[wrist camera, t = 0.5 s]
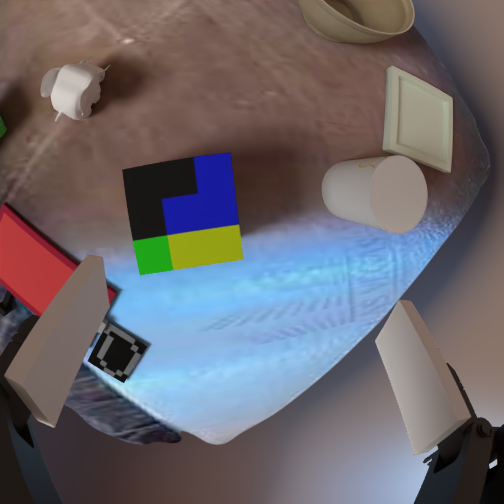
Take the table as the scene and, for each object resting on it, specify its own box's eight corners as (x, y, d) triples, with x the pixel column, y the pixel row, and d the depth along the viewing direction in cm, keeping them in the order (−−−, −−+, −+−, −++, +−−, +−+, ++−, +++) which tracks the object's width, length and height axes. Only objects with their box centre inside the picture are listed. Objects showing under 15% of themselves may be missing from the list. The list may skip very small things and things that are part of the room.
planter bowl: (361, -9, 31) (393, -39, 21) (385, 66, 35) (428, 45, 25) (270, -22, 29) (289, -63, 18) (289, 58, 33) (319, 23, 22)
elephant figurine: (127, 74, 30) (113, 53, 23) (88, 136, 31) (66, 128, 24) (86, 57, 28) (67, 37, 21) (49, 117, 29) (23, 106, 22)
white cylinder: (377, 171, 38) (433, 171, 27) (364, 225, 40) (417, 241, 28) (329, 153, 37) (378, 143, 25) (315, 210, 38) (360, 222, 27)
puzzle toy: (222, 161, 35) (230, 152, 25) (232, 239, 37) (243, 259, 28) (143, 173, 34) (122, 169, 24) (155, 251, 36) (140, 275, 26)
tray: (386, 68, 35) (392, 65, 33) (445, 99, 38) (452, 97, 36) (382, 150, 38) (389, 149, 36) (443, 172, 41) (450, 172, 39)
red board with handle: (120, 386, 40) (163, 319, 39) (116, 397, 37) (161, 328, 36) (-18, 281, 32) (7, 203, 31) (-27, 286, 29) (-3, 204, 28)
